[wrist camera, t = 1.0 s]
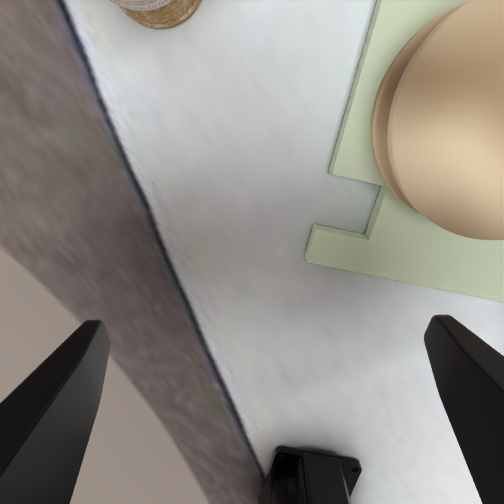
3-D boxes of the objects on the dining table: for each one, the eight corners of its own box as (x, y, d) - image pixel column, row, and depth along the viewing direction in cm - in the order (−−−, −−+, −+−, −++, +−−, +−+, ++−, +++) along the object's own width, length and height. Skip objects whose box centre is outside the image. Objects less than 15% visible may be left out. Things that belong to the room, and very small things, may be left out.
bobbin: (523, 235, 20) (572, 259, 17) (344, 197, 20) (361, 215, 16) (628, 27, 17) (714, 9, 14) (413, -28, 16) (451, -60, 13)
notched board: (497, 295, 23) (507, 303, 22) (304, 255, 22) (306, 262, 21) (628, 36, 18) (649, 32, 17) (384, -26, 17) (391, -33, 16)
